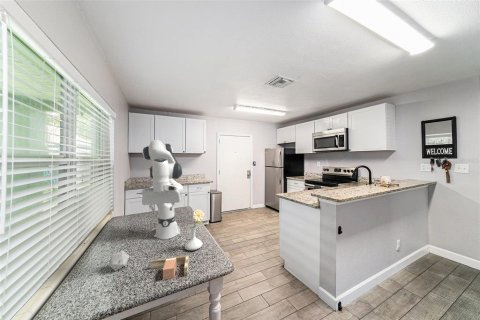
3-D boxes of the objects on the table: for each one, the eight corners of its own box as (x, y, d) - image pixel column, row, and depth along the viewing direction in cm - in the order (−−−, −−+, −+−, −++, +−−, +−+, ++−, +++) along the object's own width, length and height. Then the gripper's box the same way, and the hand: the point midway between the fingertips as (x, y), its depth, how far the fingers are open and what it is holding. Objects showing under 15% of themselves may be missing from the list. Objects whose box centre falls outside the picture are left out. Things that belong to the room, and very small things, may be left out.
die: (104, 273, 94) (109, 262, 90) (110, 257, 101) (115, 246, 98) (123, 274, 98) (128, 263, 94) (127, 258, 105) (132, 247, 102)
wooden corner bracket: (150, 267, 97) (150, 260, 97) (188, 261, 102) (188, 254, 101) (144, 282, 85) (143, 274, 85) (187, 275, 90) (187, 267, 90)
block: (163, 279, 87) (162, 269, 87) (166, 268, 96) (166, 259, 96) (174, 278, 88) (173, 267, 88) (176, 266, 97) (176, 257, 97)
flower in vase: (185, 254, 110) (184, 213, 109) (183, 245, 120) (182, 208, 119) (206, 249, 115) (205, 210, 114) (203, 241, 125) (202, 206, 124)
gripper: (139, 189, 96) (140, 214, 96) (179, 186, 101) (180, 211, 101) (143, 187, 102) (144, 211, 103) (180, 185, 107) (181, 207, 107)
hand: (162, 211), depth 102 cm, fingers open, 8 cm apart
